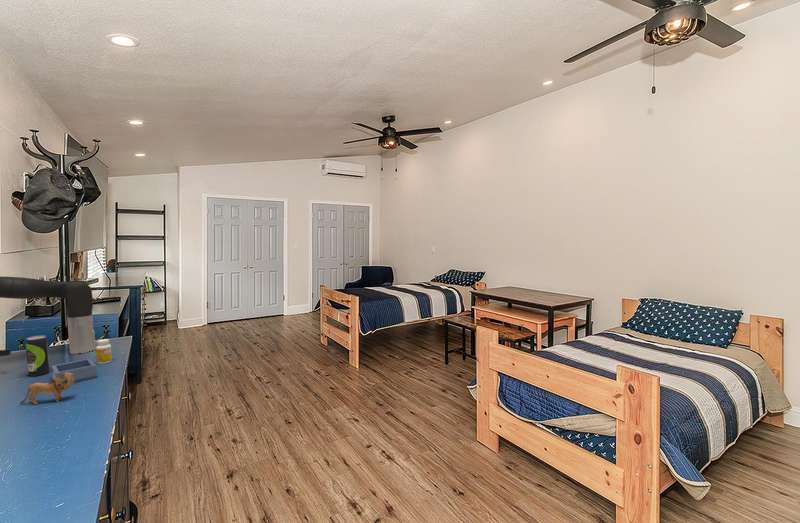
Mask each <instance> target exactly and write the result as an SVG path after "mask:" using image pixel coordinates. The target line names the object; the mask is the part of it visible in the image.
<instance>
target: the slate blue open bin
mask: <svg viewBox="0 0 800 523" xmlns="http://www.w3.org/2000/svg"><path fill="white" fill-rule="evenodd" d="M50 366H51V367H50V368H51V379H52V380H54V379H56V378H58V377H59V376H61V375H62V374H64V373H68V372H69V373H71V374H73V376H74V382H75V383H79V381H80V382H82V381H83V380H84V381H88V380H87V379H89V380H93V379H97V378H98V375H97V374H98V373H97V364H95V362H94V361H93V360H92V358H86V359H85V358H84V359H80V360H75V361H70V362H66V363H65V362H64V363H59V364H53V365H50Z"/></svg>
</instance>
